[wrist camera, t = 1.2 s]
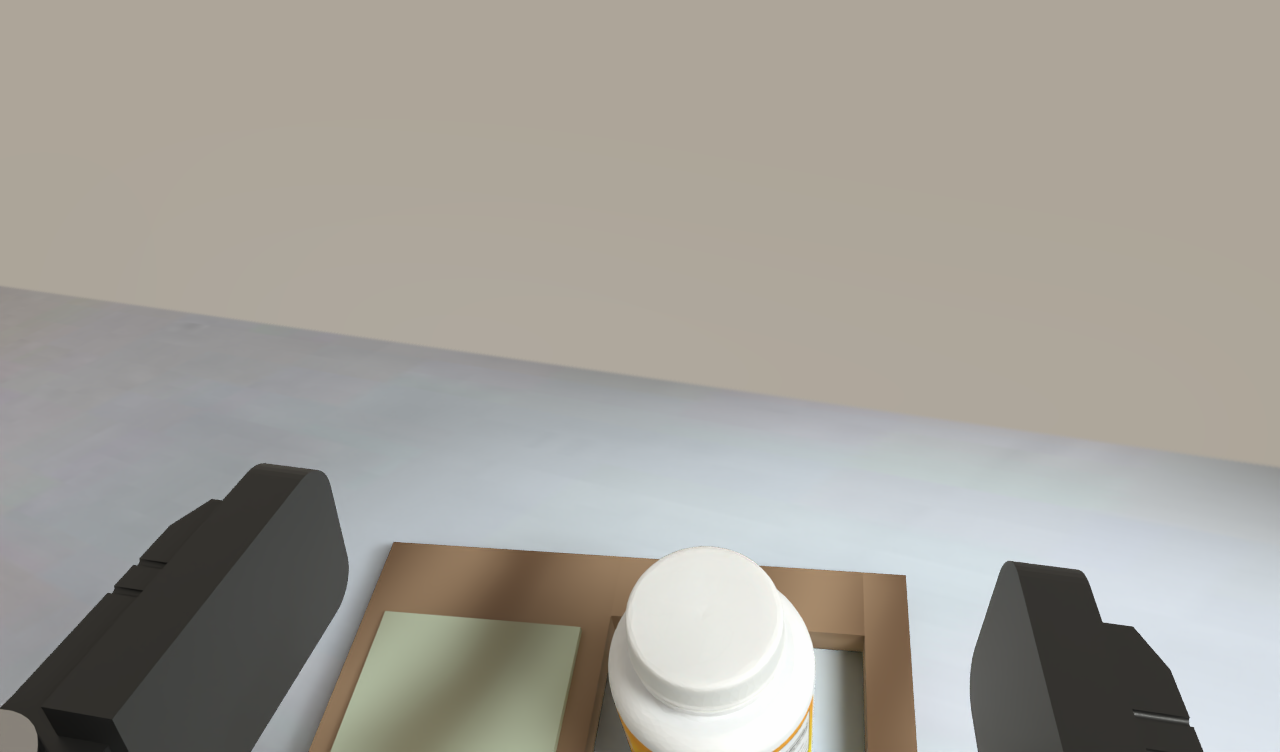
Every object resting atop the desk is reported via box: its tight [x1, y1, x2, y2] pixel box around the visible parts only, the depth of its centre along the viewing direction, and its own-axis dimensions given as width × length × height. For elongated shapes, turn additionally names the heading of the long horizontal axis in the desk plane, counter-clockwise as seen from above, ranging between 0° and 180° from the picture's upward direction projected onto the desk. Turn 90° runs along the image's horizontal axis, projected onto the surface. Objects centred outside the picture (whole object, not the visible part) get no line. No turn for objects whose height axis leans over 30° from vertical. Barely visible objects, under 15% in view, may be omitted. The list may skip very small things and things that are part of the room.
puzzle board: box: [308, 542, 917, 752], centre depth 29 cm, size 20×14×2 cm
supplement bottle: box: [608, 546, 815, 752], centre depth 25 cm, size 6×6×10 cm
